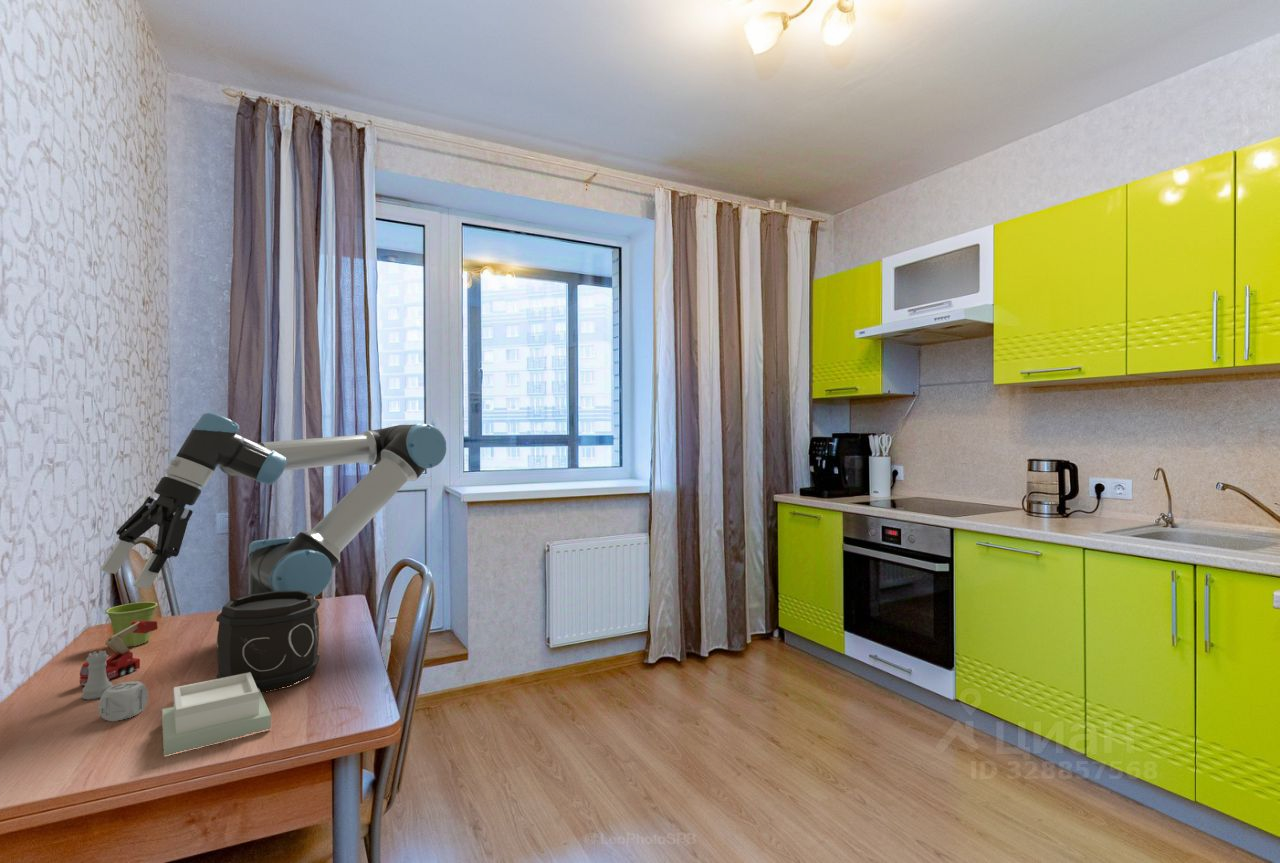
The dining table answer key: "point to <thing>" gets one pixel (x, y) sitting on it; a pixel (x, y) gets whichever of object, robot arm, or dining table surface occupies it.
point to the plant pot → (131, 620)
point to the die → (123, 701)
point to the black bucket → (269, 638)
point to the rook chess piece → (96, 676)
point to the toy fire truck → (121, 652)
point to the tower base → (212, 730)
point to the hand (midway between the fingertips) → (123, 579)
